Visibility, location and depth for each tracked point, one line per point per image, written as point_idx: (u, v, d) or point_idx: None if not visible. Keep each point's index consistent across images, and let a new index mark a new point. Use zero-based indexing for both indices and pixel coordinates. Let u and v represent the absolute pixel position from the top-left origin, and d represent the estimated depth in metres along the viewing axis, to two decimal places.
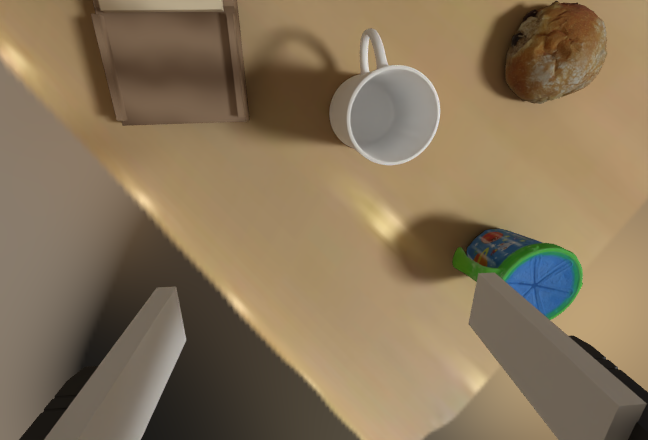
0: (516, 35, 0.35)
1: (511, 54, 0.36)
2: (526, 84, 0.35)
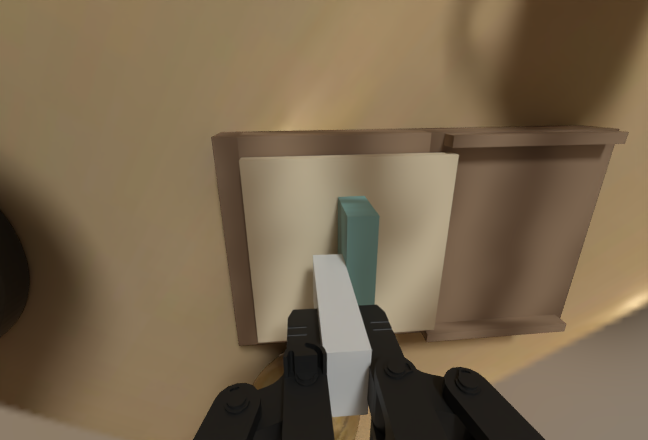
0: None
1: None
2: None
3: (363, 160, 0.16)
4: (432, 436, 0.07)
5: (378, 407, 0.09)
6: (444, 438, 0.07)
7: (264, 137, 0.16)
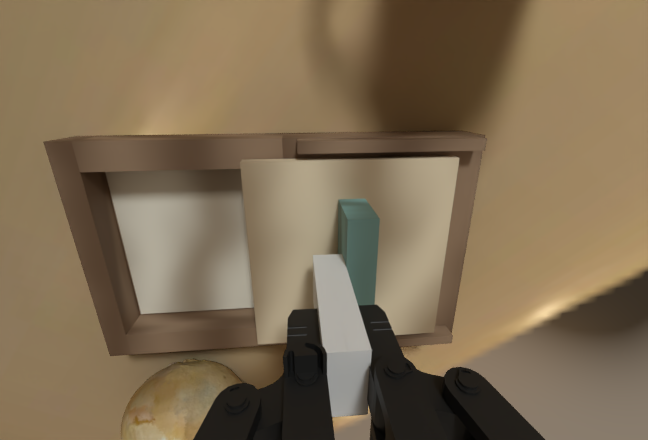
0: None
1: None
2: None
3: (364, 163, 0.16)
4: (432, 436, 0.07)
5: (378, 407, 0.09)
6: (444, 438, 0.07)
7: (101, 142, 0.15)
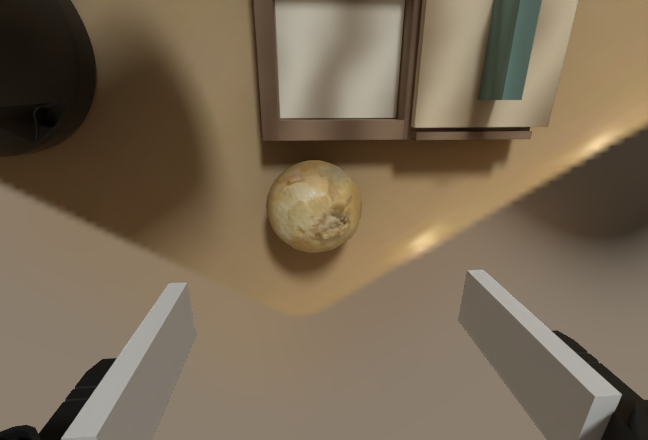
0: None
1: None
2: None
3: None
4: None
5: None
6: None
7: None
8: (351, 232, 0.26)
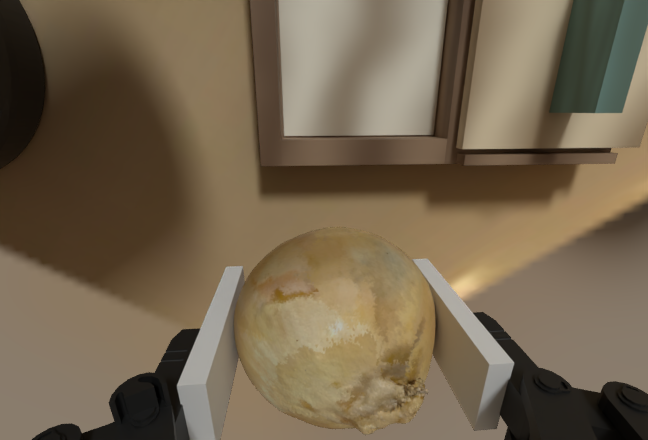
0: None
1: None
2: None
3: None
4: None
5: (520, 416, 0.09)
6: None
7: None
8: None
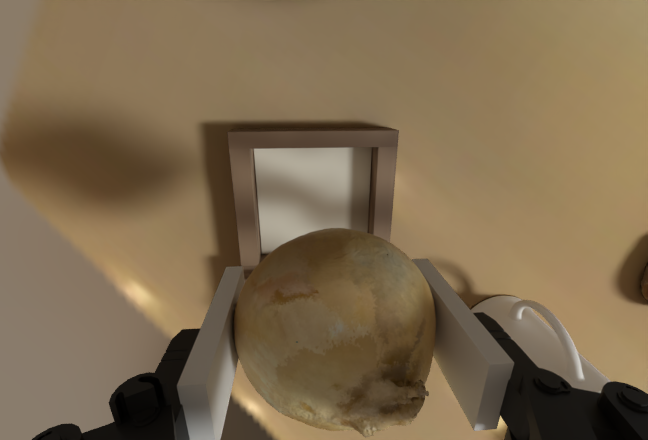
0: None
1: None
2: None
3: None
4: None
5: (520, 416, 0.09)
6: None
7: (395, 164, 0.25)
8: None
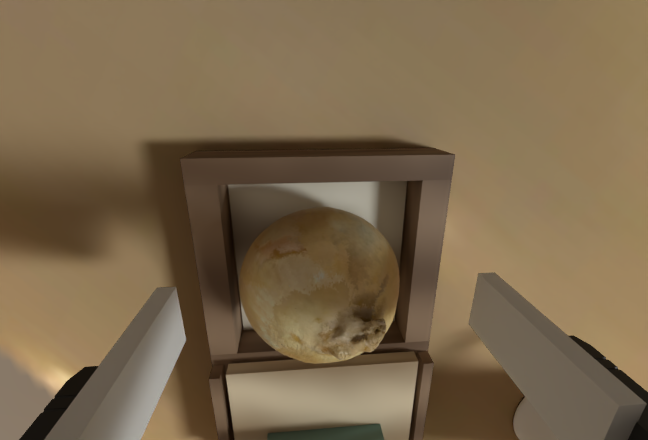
0: None
1: None
2: None
3: (406, 434, 0.21)
4: None
5: None
6: None
7: (447, 205, 0.16)
8: None
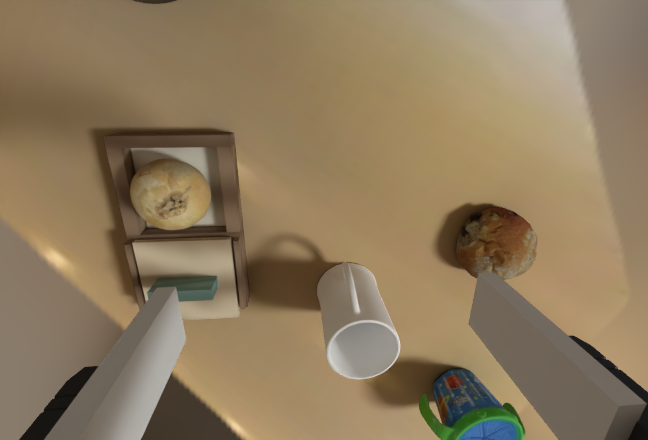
0: (464, 228, 0.42)
1: (460, 244, 0.42)
2: (471, 271, 0.42)
3: (233, 284, 0.39)
4: None
5: None
6: None
7: (231, 159, 0.35)
8: (194, 214, 0.34)
